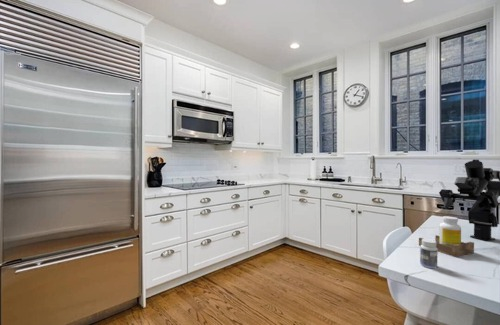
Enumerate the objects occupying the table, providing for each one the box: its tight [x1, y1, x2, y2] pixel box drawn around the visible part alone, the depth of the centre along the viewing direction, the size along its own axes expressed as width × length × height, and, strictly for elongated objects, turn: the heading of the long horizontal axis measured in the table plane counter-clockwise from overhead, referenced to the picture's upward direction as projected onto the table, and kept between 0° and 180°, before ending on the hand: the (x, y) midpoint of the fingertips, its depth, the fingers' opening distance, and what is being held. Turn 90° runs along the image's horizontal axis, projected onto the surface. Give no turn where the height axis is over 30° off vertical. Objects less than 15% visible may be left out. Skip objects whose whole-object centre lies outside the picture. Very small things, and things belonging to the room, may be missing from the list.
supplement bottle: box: [438, 215, 462, 247], centre depth 99 cm, size 7×7×13 cm
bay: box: [418, 234, 475, 258], centre depth 101 cm, size 11×14×4 cm
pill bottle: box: [419, 238, 439, 269], centre depth 85 cm, size 5×5×8 cm
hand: (456, 210), depth 103 cm, fingers open, 9 cm apart
